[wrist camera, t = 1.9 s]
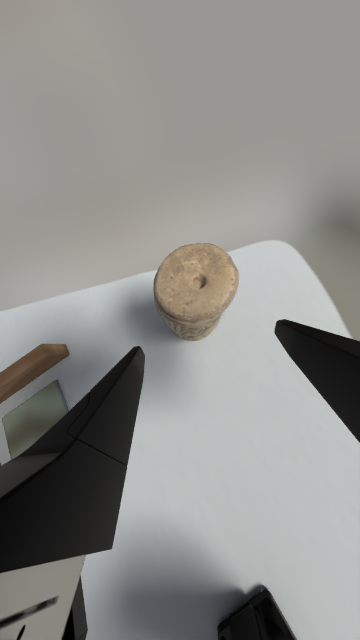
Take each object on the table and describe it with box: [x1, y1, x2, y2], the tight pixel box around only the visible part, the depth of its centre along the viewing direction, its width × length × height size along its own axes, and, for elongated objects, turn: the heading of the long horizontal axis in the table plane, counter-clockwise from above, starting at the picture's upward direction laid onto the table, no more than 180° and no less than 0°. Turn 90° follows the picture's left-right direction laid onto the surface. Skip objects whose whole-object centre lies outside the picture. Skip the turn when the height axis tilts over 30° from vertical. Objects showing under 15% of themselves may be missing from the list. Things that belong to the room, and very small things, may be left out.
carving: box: [154, 243, 239, 341], centre depth 14 cm, size 6×8×12 cm
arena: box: [0, 344, 70, 466], centre depth 18 cm, size 19×18×4 cm
